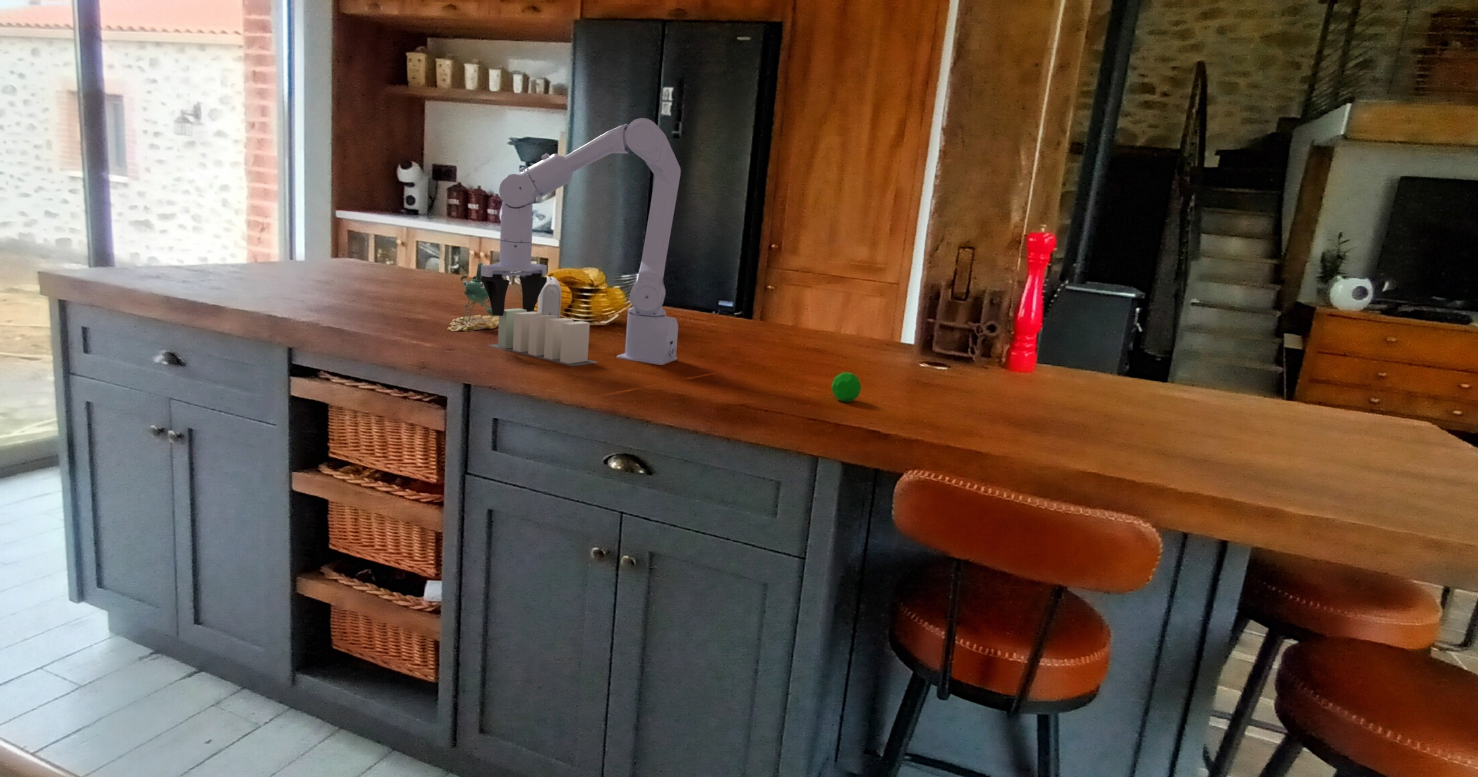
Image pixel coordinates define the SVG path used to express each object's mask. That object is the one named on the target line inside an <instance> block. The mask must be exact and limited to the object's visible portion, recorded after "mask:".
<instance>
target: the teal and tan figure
mask: <svg viewBox="0 0 1478 777" xmlns="http://www.w3.org/2000/svg"><path fill="white" fill-rule="evenodd" d="M481 265H484V264H483V263H482V262H481V261H480V262H478V264H477V269H476V273H475V274H476V275H473V277H472V279H471V280H470V281H469V280H467V279H468V277H467V275H462V276H461V277H460V281H462V285H463V287H464V288H465V290H463V293H464V296H466V298H467V299H468V303H467V304H465V305H464V307H465V311H464V314H463V316H461V317H457V318H453V319H452V320H451V322H450V323H449V326H448V327H447V328H446V330H447V331H451V332H459V331H462V332H474V331H480V330H485V329H487V330H490V329H496V328H497V327H499V316H497V315H493V313H492V308H491V306H489V305H487V304H488V303H490V300H489V297H488V294H487V291H486V289H485V287H484V285H483V283H482V281H481ZM464 279H465V280H464ZM470 302H471V303H470ZM475 304H480V306H481V307H484V308H485V310H486V312H487V313H485V315H481V314H478V315H477V314H475V315H472V311H473V308H474V306H475ZM470 306H472V307H471V309H470V313H469V316H466V313H467V311H468V308H469V307H470Z"/></svg>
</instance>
